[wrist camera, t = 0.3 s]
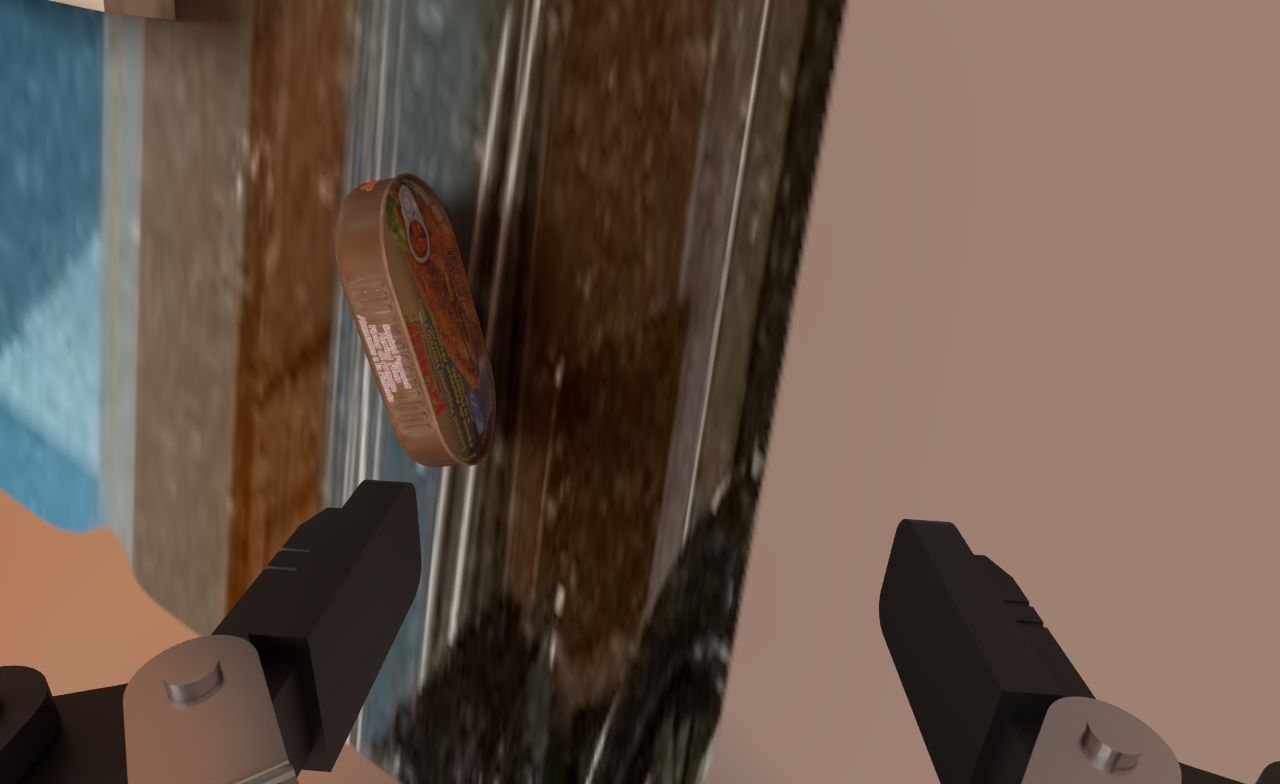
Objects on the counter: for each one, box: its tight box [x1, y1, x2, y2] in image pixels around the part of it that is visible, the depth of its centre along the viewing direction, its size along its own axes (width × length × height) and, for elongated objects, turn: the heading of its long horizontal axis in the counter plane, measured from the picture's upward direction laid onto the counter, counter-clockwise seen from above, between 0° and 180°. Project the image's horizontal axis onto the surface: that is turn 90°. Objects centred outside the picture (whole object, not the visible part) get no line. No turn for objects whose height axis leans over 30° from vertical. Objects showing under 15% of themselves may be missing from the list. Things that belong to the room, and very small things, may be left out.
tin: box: [335, 173, 496, 467], centre depth 36 cm, size 15×3×8 cm, turn 10°
